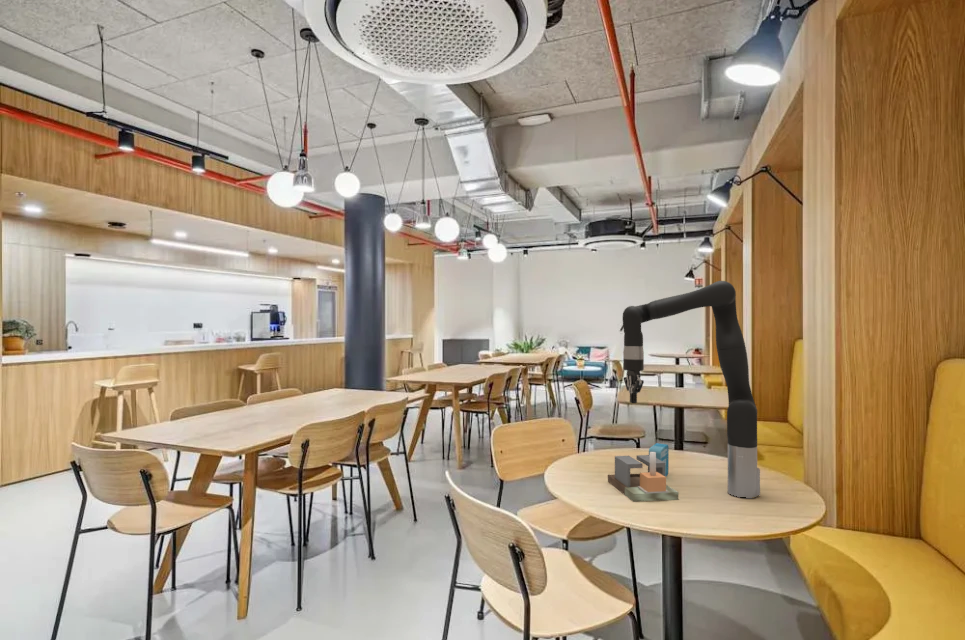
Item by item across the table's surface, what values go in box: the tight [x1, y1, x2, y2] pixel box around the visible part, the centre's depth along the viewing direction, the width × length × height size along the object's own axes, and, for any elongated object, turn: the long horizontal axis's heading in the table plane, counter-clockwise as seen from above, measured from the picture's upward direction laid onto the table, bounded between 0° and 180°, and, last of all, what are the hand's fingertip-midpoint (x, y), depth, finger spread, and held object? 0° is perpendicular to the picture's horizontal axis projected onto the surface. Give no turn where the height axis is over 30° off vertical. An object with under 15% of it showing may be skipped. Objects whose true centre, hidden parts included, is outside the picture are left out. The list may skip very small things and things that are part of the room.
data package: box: [648, 443, 670, 478], centre depth 195 cm, size 12×4×12 cm, turn 146°
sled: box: [638, 452, 668, 494], centre depth 171 cm, size 8×6×13 cm
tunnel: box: [614, 454, 665, 487], centre depth 181 cm, size 14×11×8 cm
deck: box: [607, 473, 680, 503], centre depth 179 cm, size 16×22×2 cm
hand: (633, 402), depth 193 cm, fingers closed
